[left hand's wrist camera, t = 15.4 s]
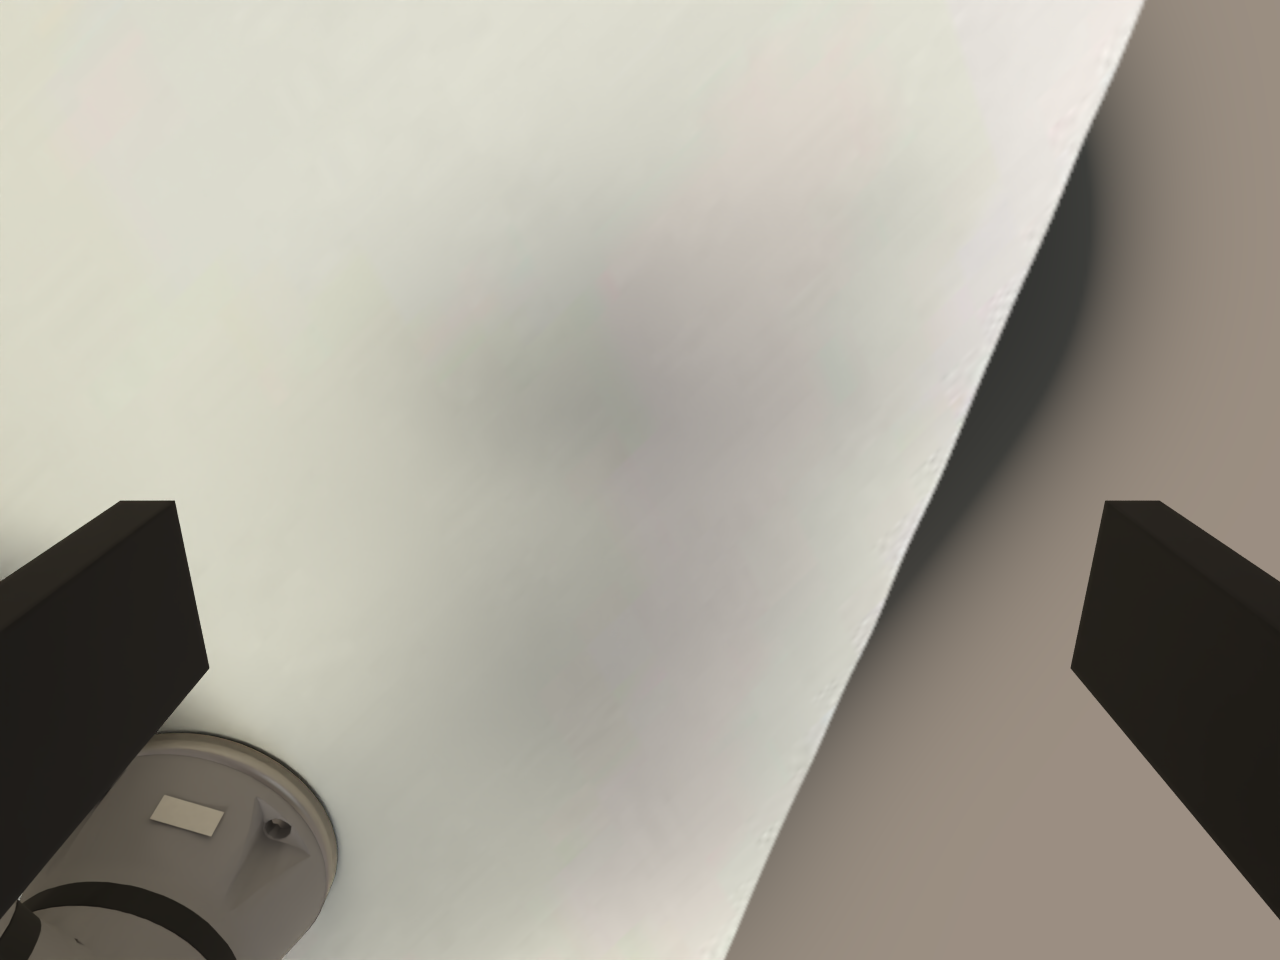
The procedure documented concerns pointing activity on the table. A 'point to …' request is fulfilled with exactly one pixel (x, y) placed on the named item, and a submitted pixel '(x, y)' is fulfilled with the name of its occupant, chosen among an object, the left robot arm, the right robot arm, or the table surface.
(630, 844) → the table surface
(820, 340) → the table surface
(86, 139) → the table surface
